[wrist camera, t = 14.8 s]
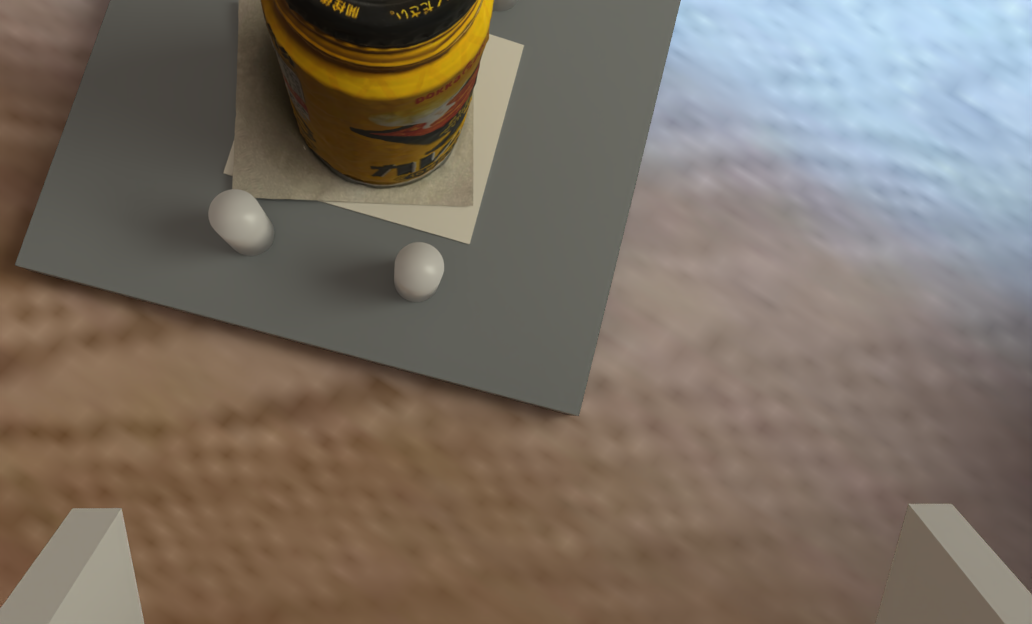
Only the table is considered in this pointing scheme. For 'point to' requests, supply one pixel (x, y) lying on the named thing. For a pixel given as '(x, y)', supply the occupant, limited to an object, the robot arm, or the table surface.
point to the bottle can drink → (358, 99)
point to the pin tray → (367, 226)
